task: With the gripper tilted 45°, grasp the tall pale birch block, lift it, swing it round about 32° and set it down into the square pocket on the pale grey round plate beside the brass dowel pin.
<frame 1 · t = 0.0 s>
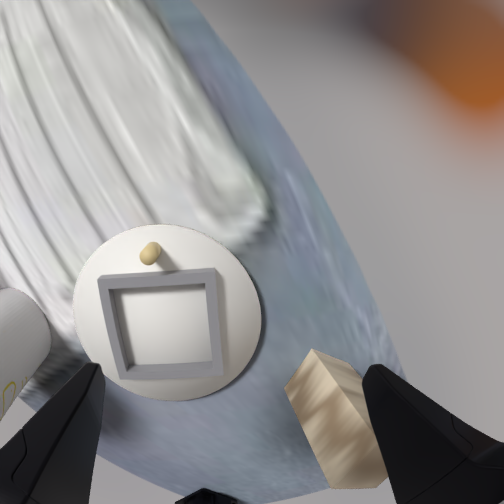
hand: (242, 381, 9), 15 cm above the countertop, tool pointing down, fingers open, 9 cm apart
birch block: (317, 376, 28), on the countertop
locating plate: (164, 320, 24), on the countertop
cup: (19, 326, 22), on the countertop
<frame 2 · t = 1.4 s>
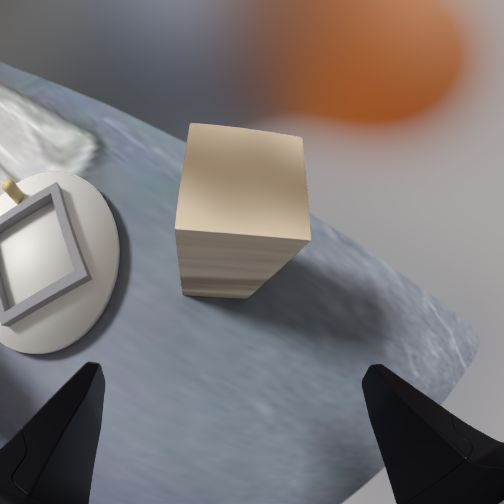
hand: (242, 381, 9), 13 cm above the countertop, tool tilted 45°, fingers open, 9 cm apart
birch block: (216, 265, 24), on the countertop
locating plate: (36, 258, 20), on the countertop
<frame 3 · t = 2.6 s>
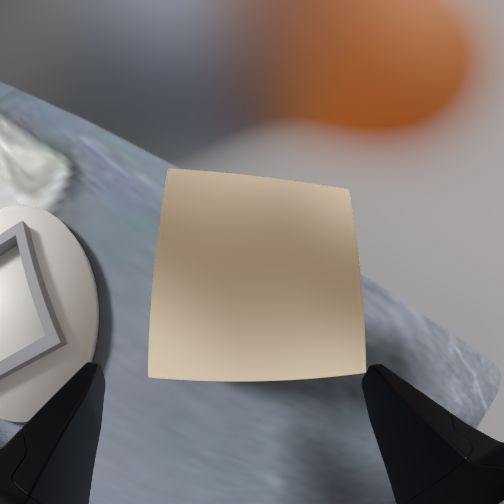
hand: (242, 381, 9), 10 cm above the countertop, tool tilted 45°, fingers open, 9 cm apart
birch block: (216, 325, 19), on the countertop
locating plate: (6, 311, 16), on the countertop
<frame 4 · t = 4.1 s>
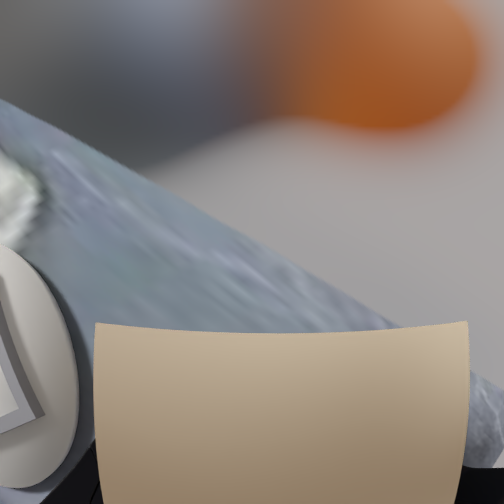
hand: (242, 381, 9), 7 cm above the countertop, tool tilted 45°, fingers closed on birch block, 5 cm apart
birch block: (221, 396, 14), on the countertop, touching gripper
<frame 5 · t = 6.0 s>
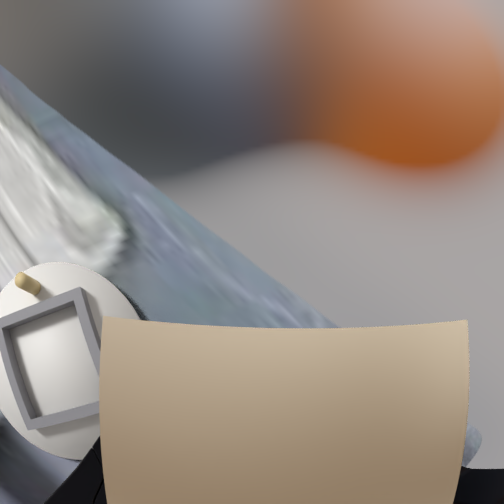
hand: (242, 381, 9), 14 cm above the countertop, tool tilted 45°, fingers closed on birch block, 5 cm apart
birch block: (224, 395, 14), point 7 cm above the countertop, touching gripper
locating plate: (59, 362, 19), on the countertop
when the fingers open (10 cm above the countertop, at t = 8.1 s): birch block drops 2 cm, resting on locating plate.
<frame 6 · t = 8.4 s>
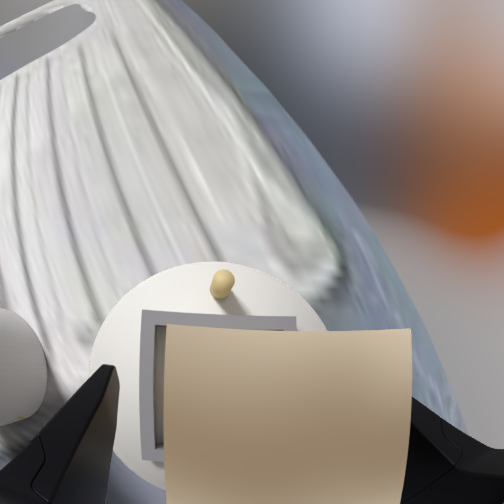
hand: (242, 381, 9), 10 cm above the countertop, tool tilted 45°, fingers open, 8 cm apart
birch block: (217, 390, 16), point 1 cm above the countertop, touching locating plate
locating plate: (216, 388, 17), on the countertop
cup: (5, 365, 14), on the countertop
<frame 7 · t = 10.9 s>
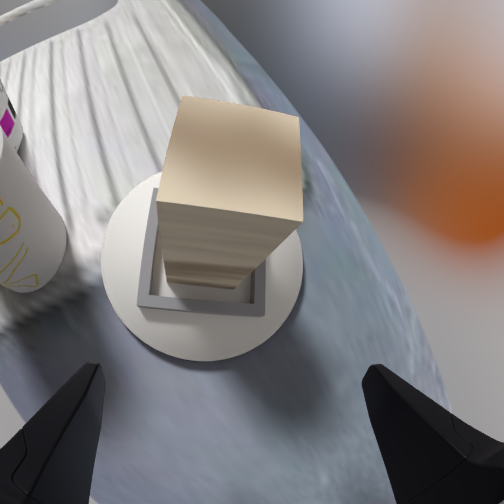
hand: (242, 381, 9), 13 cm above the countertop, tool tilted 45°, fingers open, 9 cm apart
birch block: (203, 253, 23), point 1 cm above the countertop, touching locating plate
locating plate: (202, 257, 23), on the countertop
cup: (28, 246, 20), on the countertop
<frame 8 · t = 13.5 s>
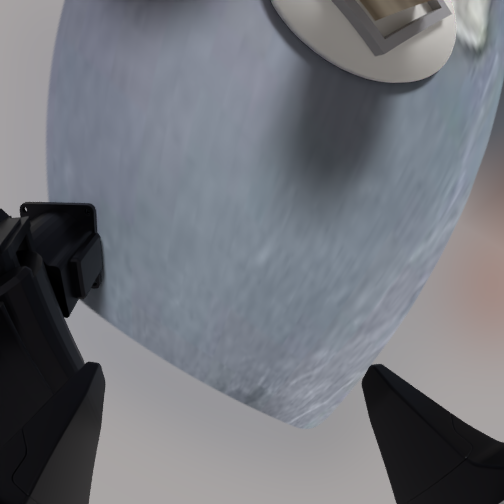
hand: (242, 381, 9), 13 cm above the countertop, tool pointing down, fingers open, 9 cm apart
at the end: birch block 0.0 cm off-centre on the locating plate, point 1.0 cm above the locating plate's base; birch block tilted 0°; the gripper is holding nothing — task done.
